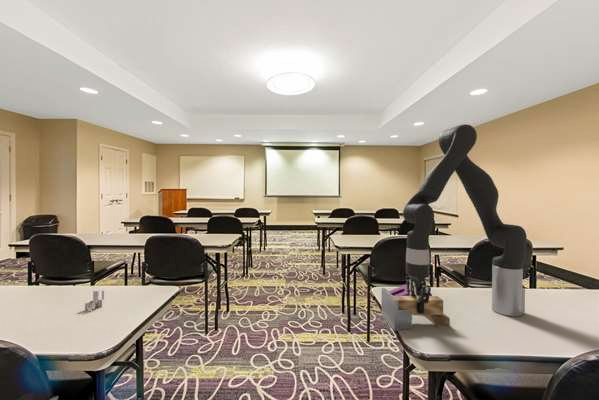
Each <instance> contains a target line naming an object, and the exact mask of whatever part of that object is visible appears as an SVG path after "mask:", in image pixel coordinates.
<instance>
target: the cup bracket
mask: <svg viewBox="0 0 599 400" xmlns="http://www.w3.org/2000/svg"><path fill="white" fill-rule="evenodd" d="M389 291H390V290H388V289H386V288H385V287H384V288H383V287H382V288H381V316H382V318H383V319H384V320H385V321H386V323H387V324H388V326H390V327H391V329H392V330H393V331H394V332H399V331H400V330H412V328H413V327H412V325H413V323H412V321H413V319H412V318H413V317H412V316H413V315H412V311H411V310H398V300H397V299H396V298H395V297H394V296H393V295H392V294H391V293H390V292H389Z"/></svg>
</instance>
